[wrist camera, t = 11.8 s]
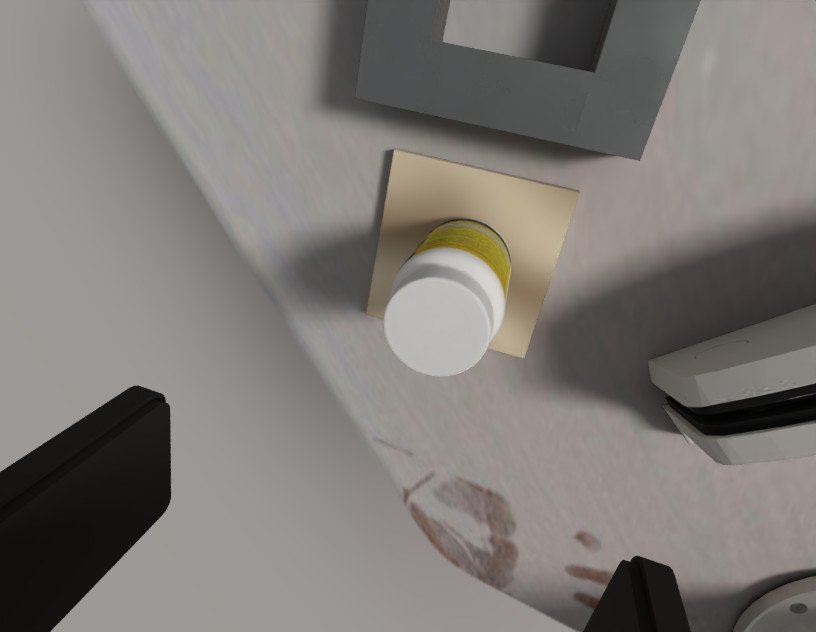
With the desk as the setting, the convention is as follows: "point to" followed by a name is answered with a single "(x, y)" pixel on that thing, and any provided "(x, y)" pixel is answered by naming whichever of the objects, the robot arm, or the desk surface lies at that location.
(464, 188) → the pad
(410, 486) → the desk surface
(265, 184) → the desk surface
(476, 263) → the supplement bottle
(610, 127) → the socket block
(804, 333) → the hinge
